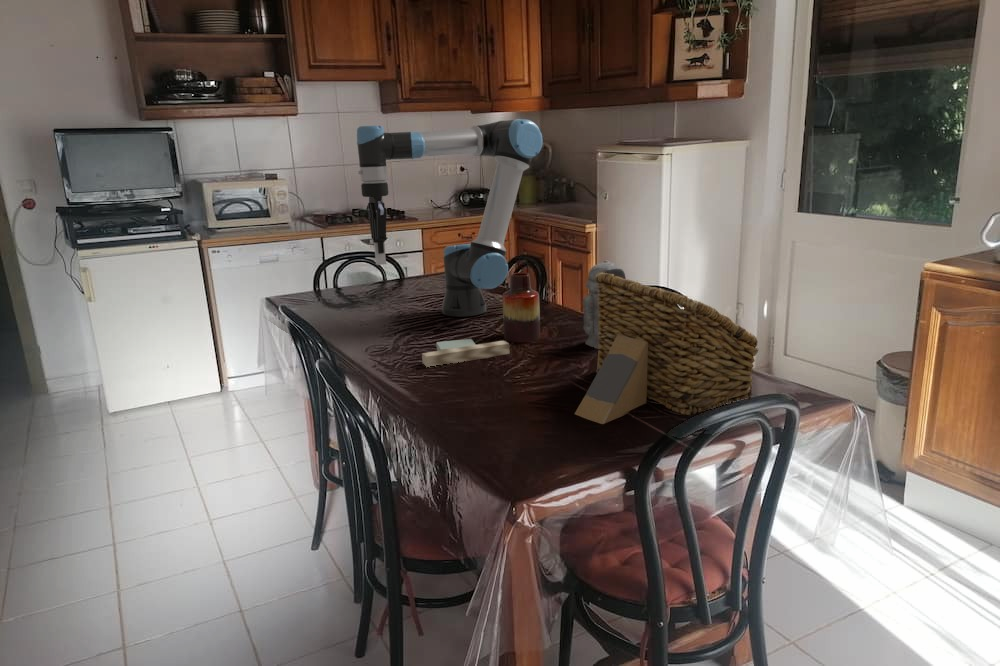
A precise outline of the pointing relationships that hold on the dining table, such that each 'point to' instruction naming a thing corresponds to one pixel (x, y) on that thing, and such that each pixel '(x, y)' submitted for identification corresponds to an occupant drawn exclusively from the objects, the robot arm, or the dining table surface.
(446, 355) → the curved wooden bar
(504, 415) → the dining table surface
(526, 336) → the vase
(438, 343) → the block
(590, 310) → the figurine
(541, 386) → the dining table surface
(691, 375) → the basket
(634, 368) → the sandwich container
